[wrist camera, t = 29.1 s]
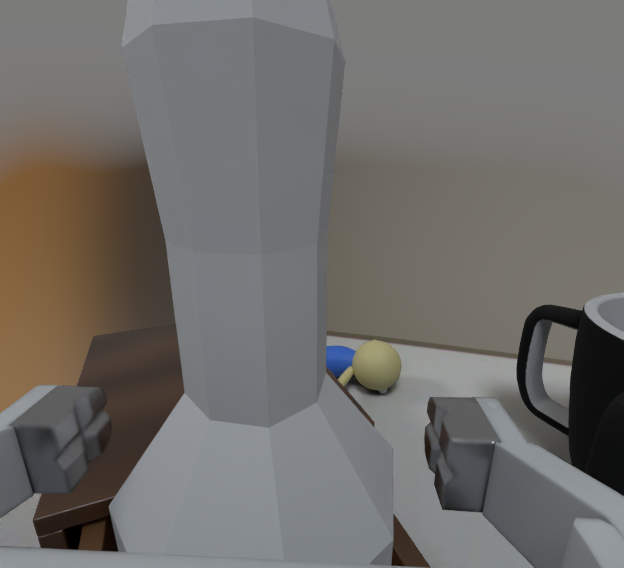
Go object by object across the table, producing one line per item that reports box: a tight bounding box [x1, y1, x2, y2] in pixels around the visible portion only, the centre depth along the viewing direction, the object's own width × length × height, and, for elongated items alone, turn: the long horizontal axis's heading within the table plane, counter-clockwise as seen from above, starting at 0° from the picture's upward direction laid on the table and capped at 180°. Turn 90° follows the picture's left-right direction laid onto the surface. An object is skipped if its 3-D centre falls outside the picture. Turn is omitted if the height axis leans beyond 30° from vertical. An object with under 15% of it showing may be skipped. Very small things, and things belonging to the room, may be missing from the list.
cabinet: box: [33, 324, 374, 550], centre depth 24 cm, size 16×14×9 cm
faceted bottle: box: [109, 0, 393, 566], centre depth 9 cm, size 6×6×22 cm
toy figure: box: [326, 340, 401, 394], centre depth 37 cm, size 11×9×5 cm
